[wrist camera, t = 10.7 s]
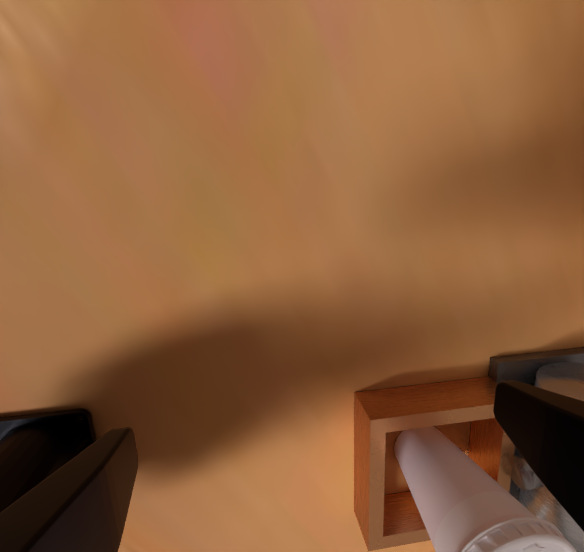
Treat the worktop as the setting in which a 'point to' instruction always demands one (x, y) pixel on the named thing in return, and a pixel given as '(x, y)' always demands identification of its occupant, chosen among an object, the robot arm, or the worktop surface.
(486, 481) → the white cup with straw
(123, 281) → the worktop surface
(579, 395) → the motor unit
